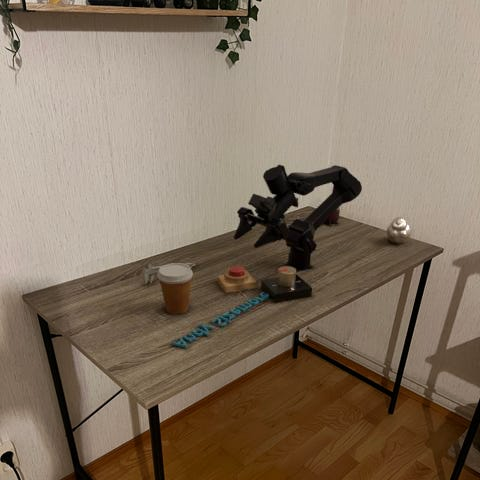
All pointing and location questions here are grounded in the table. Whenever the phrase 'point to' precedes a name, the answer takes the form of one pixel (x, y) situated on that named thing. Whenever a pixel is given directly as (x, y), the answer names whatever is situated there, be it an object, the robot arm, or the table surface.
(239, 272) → the button
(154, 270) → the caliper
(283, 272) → the knob
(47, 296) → the table surface
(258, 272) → the table surface
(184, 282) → the disposable coffee cup
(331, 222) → the mate gourd
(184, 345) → the nameplate
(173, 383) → the table surface
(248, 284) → the button block
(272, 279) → the dial console
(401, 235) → the silver spiral shell
